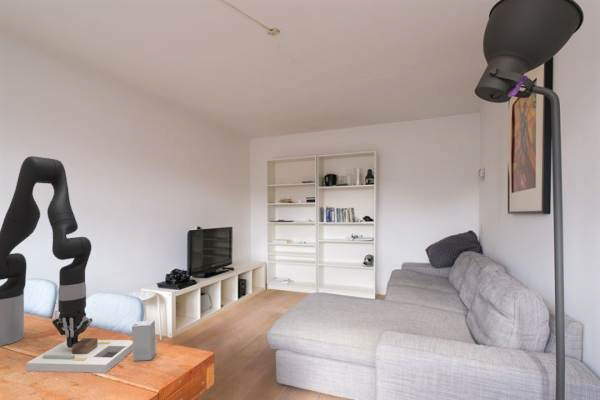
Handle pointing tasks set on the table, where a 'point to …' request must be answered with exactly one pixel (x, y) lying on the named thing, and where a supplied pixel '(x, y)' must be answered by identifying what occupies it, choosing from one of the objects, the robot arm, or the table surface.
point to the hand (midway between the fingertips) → (72, 346)
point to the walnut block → (84, 346)
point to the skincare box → (143, 340)
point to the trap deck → (82, 358)
